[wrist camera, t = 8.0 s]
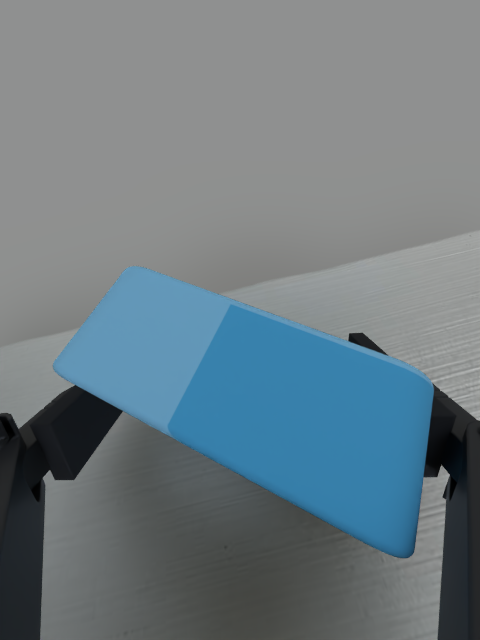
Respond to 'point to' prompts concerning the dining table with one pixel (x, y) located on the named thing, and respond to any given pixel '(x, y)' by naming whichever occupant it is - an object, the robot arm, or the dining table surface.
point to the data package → (264, 400)
